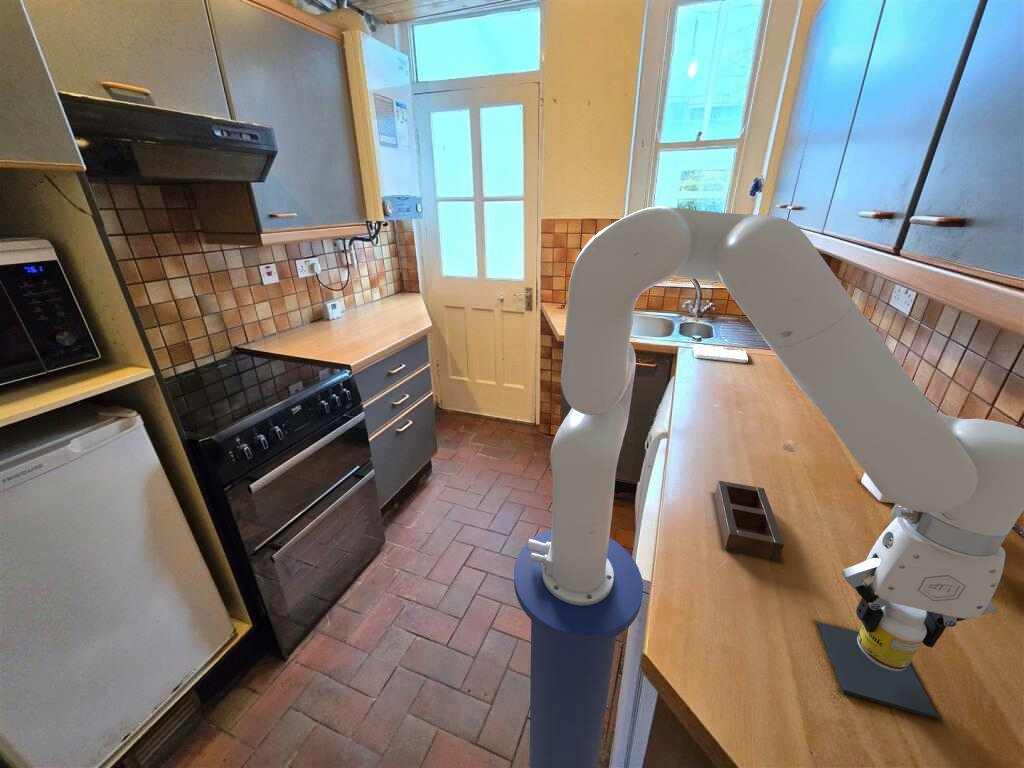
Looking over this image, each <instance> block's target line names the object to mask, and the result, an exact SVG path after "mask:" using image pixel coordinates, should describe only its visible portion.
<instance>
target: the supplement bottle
mask: <svg viewBox="0 0 1024 768" xmlns="http://www.w3.org/2000/svg"><path fill="white" fill-rule="evenodd" d="M881 609H882V611H883V613H884V615H883V617H882V619H881V621H880V622H879V624H878V626H877V628H876V630H875V632H873V633H870V632H867V631H866V629H865V627H864V625H863V624H862V625H861V627H860V630H859V631H858V632H859V634H858V637H857V641H858V645H859V647H860V649H861V650H862V651H863V653H864V654H865V655H866V656H867V657H868V658H869V659H870V660H871V661H873V662H874V663H876V664H877V665H879V666H881V667H883V668H886V669H889V670H893V671H902V670H904V669H906V668H907V667H908V665H909V664H910V665H911V662H912V660H914V657H915V655H916V654H917V652H918V650H919V648H920V647H921V645H922V643H923V640H924V638H925V636H926V634H927V628H926V625H925V623H924V621H925V619H926V617H927V611H925V610H921V609H916V608H912V607H908V606H903V605H899V604H895V603H891V602H889V603H887V604H886V605H885V606H883V607H882V608H881Z"/></svg>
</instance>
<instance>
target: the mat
mask: <svg viewBox="0 0 1024 768" xmlns="http://www.w3.org/2000/svg"><path fill="white" fill-rule="evenodd" d="M817 627H818V629H819V632H820V635H821V638H822V640H823V643H824V646H825V649H826V651H827V654H828V656H829V659H830V662H831V664H832V667H833V669H834V673H835V675H836V677H837V681H838V683H839V686H840V688H841V691H842V693H843V694H846V695H850V696H854V697H856V698H860V699H864V700H868V701H871V702H875V703H878V704H882V705H884V706H888V707H892V708H896V709H899V710H902V711H907V712H909V713H913V714H917V715H920V716H923V717H926V718H930V719H934V720H937V719H938V718H939V715H938V714H937V711H936V710H935V707H934V706H933V704H932V702H931V700H930V699H929V696H928V694H927V693H926V691H925V689H924V687H923V686H922V683H921V681H920V680H919V678H918V676H917V674H916V673H915V671H914V669H913V667H912V665H911V663H910V664H909V665H908V667H907V668H906V669H904V670H902V671H893V670H889V669H886V668H883V667H881V666H879V665H877V664H876V663H874V662H873V661H871V660H870V659H869V658H868V657H867V656H866V655H865V654H864V653H863V651H862V650H861V649H860V647H859V645H858V641H857V637H858V634H859V632H860V631H856V630H852V629H848V628H843V627H839V626H836V625H832V624H828V623H824V622H817Z"/></svg>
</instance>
